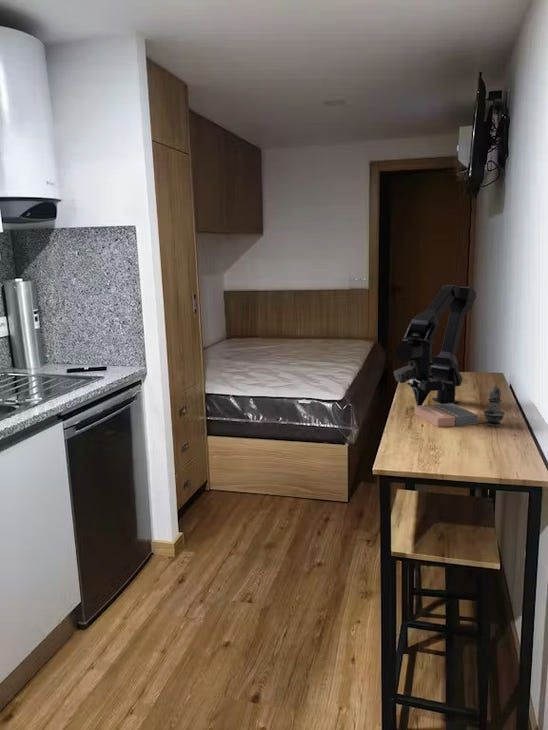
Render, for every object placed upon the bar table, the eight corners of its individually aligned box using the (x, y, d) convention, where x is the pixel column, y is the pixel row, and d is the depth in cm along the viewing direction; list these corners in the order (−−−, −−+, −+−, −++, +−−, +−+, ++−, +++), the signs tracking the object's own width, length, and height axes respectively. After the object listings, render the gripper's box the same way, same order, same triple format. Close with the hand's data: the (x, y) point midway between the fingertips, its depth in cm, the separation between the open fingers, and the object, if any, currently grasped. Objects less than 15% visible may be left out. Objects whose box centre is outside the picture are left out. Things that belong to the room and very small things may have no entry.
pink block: (414, 413, 175) (414, 405, 174) (430, 412, 176) (431, 404, 176) (437, 426, 162) (437, 418, 161) (454, 425, 163) (455, 416, 162)
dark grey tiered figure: (502, 422, 166) (505, 382, 163) (505, 428, 160) (508, 387, 158) (481, 420, 167) (484, 381, 165) (483, 426, 162) (486, 386, 159)
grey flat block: (431, 412, 176) (432, 404, 176) (452, 410, 178) (452, 403, 177) (456, 425, 163) (456, 416, 162) (477, 423, 164) (478, 415, 164)
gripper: (385, 354, 182) (383, 400, 185) (411, 364, 164) (409, 416, 167) (416, 352, 184) (414, 398, 187) (446, 363, 166) (443, 413, 169)
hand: (419, 406), depth 177 cm, fingers closed
